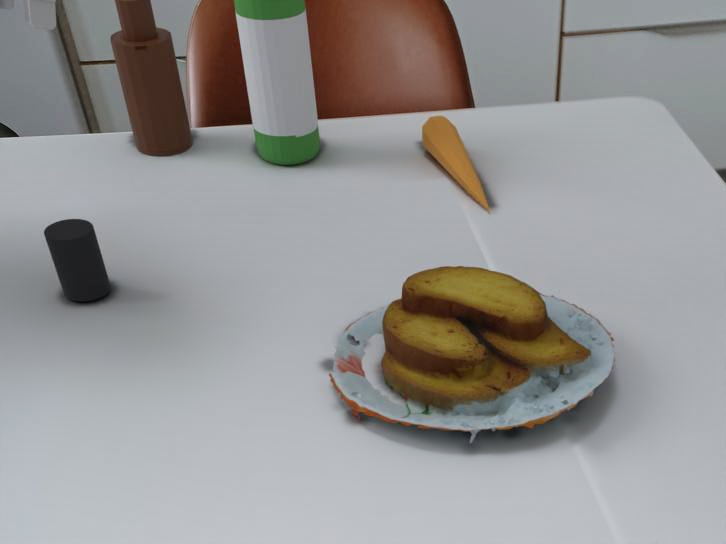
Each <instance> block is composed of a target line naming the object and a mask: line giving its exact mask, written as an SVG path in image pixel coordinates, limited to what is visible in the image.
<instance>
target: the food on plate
mask: <svg viewBox="0 0 726 544" xmlns="http://www.w3.org/2000/svg"><path fill="white" fill-rule="evenodd" d="M377 334H378V335H382V336H383V341H384V347H385V348H384V349H385V352H384V354H383V356H382V357H381V361H380V365H381V371H382V375H383V380H384V384H385V385H386V386H387V387H388V388H390V389H391V390H393V392H395V393H396V394H397V395H399V396H400V397H401V398H402V400H403V401H405V402H406V403H405V404H403V403H402V404H400V403H399V402H394V401H392V400H390V398H389V396H387V395H384V394H382V392H381V389H377V388H374V387H373V385H372V384H371V382H370V381H369V380H368V379H367V377H366V372H365V371H364V369H363V361H362V360H363V358H364V357H365V355H366V352H365V350H364V349H363V347H364V346H366V343H367V342H366V341H367V340H370V339H371V338H372V337H373V336H374V335H377ZM348 335H349V336H351V337H353V338H354V340H355V342H359V344H358V345H354V344H352V343H350V342H351V341H349V340H348ZM614 341H615V339H614V337H612V333H611V332H609V331H608V330H607V329H606V328H605V327H604V325H603V324H602V322H601V321H600V320H599V319H598V318H597V317H595V316H593V315H592V314H591V313H587V312H586V311H585V310H584V308H581V307H579V306H578V305H576V304H575V303H570V302H568V301H567V300H564V299H560V298H557V297H556V296H555V295H545V294H543V293H541V292H540V291H538V290H537V289H535V288H534V287H532V286H531V285H529V284H527V283H526V282H524V281H522V280H520V279H518V278H516V277H514V276H512V275H510V274H507V273H503V272H499V271H495V270H490V269H487V268H483V267H476V266H463V265H457V266H452V265H451V266H449V265H448V266H447V265H446V266H438V267H434V268H429V269H424V270H421V271H418V272H416V273H413V274H411V275H410V276H408V277H407V278H406V280H405V281H404V282H403V283H402V286H401V298H398V299H395V300H392V301H391V302H390V303H389V304H388V305H387V306H383V307H381V308H379V309H378V310H372V311H370V312H368V313H367V314H366V315H364V316H362V317H360V318H358V319H357V320H356V321H354V322H351V323H349V325H347V327H346V329H345V330H344V331H343V333H342V336H341V337H340V338H339V342H338V343H337V344H336V346H334V348H335V353H334V355H333V356H334V357H333V366H332V369H333V372H329V373H328V376H329V378H330V382H331V383H332V385H333V387H334V389H335V390H336V393H337V394H340V400H343V401H344V402H345V403H346V405H347V406H348V407H349V408H352V409H353V410H352V409H351V410H350V411H351V413H352V415H353V416H355V417H357V418H358V419H359V420H360V421H361V420H362V419H361V417H360V415H359V413H363V414H364V415H365V416H369V417H374V418H378V419H380V420H381V421H384V422H387V423H391V424H397V423H400V424H402V425H404V426H406V427H409V426H412V425H415V426H417V428H418V429H424V430H431V429H436V430H441V431H461V432H465V433H466V432H470V434H471V435H470V439H469V440H470V441H469V444H472V443H473V442H474V439H475V438H476V436H477V434H478V433H479V432H481V431H482V430H491V431H492V432H495V431H496V430H498V431H500V430H502V431H503V430H511V429H513V428H514V427H516V428H517V427H526V428H529V429H533V428H534V426H535V425H541V424H545V423H547V422H548V421H550V420H551V419H554V418H556V417H558V416H559V415H560V414H562V413H563V412H564V411H570V410H571V409H573V408H575V407H576V406H577V405H578V403H579V401H582V400H584V399H586V398H588V397H592V396H593V395H594V391H595V389H596V388H597V387H599V386H600V385H602V384H603V383H604V382H605V379H607V378H608V377H609V376H610V375H611V373H612V370H613V369H614V362H615V361H616V358H615V357H616V356H615V354H616V353H615V344H614Z"/></svg>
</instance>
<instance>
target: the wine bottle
mask: <svg viewBox="0 0 726 544" xmlns="http://www.w3.org/2000/svg"><path fill="white" fill-rule="evenodd" d="M233 4H234V10H235V11H234V13H235V18H236V24H237V32H238V38H239V44H240V50H241V57H242V63H243V70H244V77H245V83H246V90H247V96H248V103H249V108H250V109H249V110H250V116H251V123H252V128H253V135H254V141H255V145H256V149H257V152H258V155H259V156H260V157H261V158H262V159H263V160H265V161H267V162H269V163H270V164H275V165H281V166H293V165H299V164H303V163H307V162H309V161H311V160H313V159H314V158H315V157H316V156H317V155H318V154H319V151H320V146H321V140H320V138H321V137H320V130H319V119H318V118H319V117H318V109H317V101H316V100H317V99H316V92H315V83H314V81H315V80H314V72H313V65H312V54H311V45H310V36H309V35H310V34H309V27H308V18H307V10H306V9H307V8H306V2H305V0H233Z"/></svg>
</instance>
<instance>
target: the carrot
mask: <svg viewBox="0 0 726 544" xmlns="http://www.w3.org/2000/svg"><path fill="white" fill-rule="evenodd" d="M421 140H422V146H423V147H424V148H425V150H426V151H428V153H430V154H431V156H432V157H433V158H434V159H435V160H436V161H437V162H438V163H439V164H440V165H441V166H442V167H443V168H444V169H445V170H446V172H448V173H449V175H451V177H452V178H454V179H455V181H456V182H457V183H458V184H459V185H460V186H461V187H462V189H464V190H465V191H466V192H467V193H468V194H469V195H470V196H471V197H473V199H475V201H477V202H478V203H479V204H480V205H481V206H482V207H484V208H485V209H486V210H487V211H488V212H489V213H491V210H490V206H489V204H488V200H487V197H486V195H485V192H484V189H483V186H482V183H481V181H480V179H479V176H478V173H477V171H476V169H475V167H474V165H473V163H472V161H471V158H470V156H469V153H468V152H467V149H466V147H465V145H464V143H463V140H462V138H461V136H460V134H459V131H458V129H457V126H455V125H454V124H453V123H452V121H450V120H449V119H448V118H447V117H446V116H444V115H434V116H429V118H428V119H427V120H426V121H425V122H424V124H423V125H422V126H421Z"/></svg>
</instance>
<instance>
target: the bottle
mask: <svg viewBox="0 0 726 544" xmlns="http://www.w3.org/2000/svg"><path fill="white" fill-rule="evenodd" d="M114 3H115V7H116V12H117V15H118V20H119V25H120V30H118V31H116V32H114V33H113V34H111V35H110V38H109V40H110V46H111V49H112V53H113V57H114V61H115V65H116V70H117V73H118V76H119V77H118V78H119V82H120V86H121V90H122V94H123V98H124V102H125V106H126V110H127V115H128V119H129V122H130V123H129V124H130V128H131V130H132V136H133V140H134V143H135V146H136V149H137V151H138V152H140V153H141V154H144V155H148V156H152V157H153V156H154V157H167V156H173V155H178V154H180V153H184V152H186V151H188V150H189V149H191V147H192V146H193V136H192V130H191V126H190V121H189V116H188V110H187V106H186V101H185V96H184V91H183V86H182V81H181V76H180V72H179V67H178V61H177V56H176V52H175V47H174V42H173V36H172V33H171V31H169V30H167V29H165V28H162V27H158V26H157V25H156V20H155V14H154V10H153V6H152V5H153V4H152V1H151V0H114Z"/></svg>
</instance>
